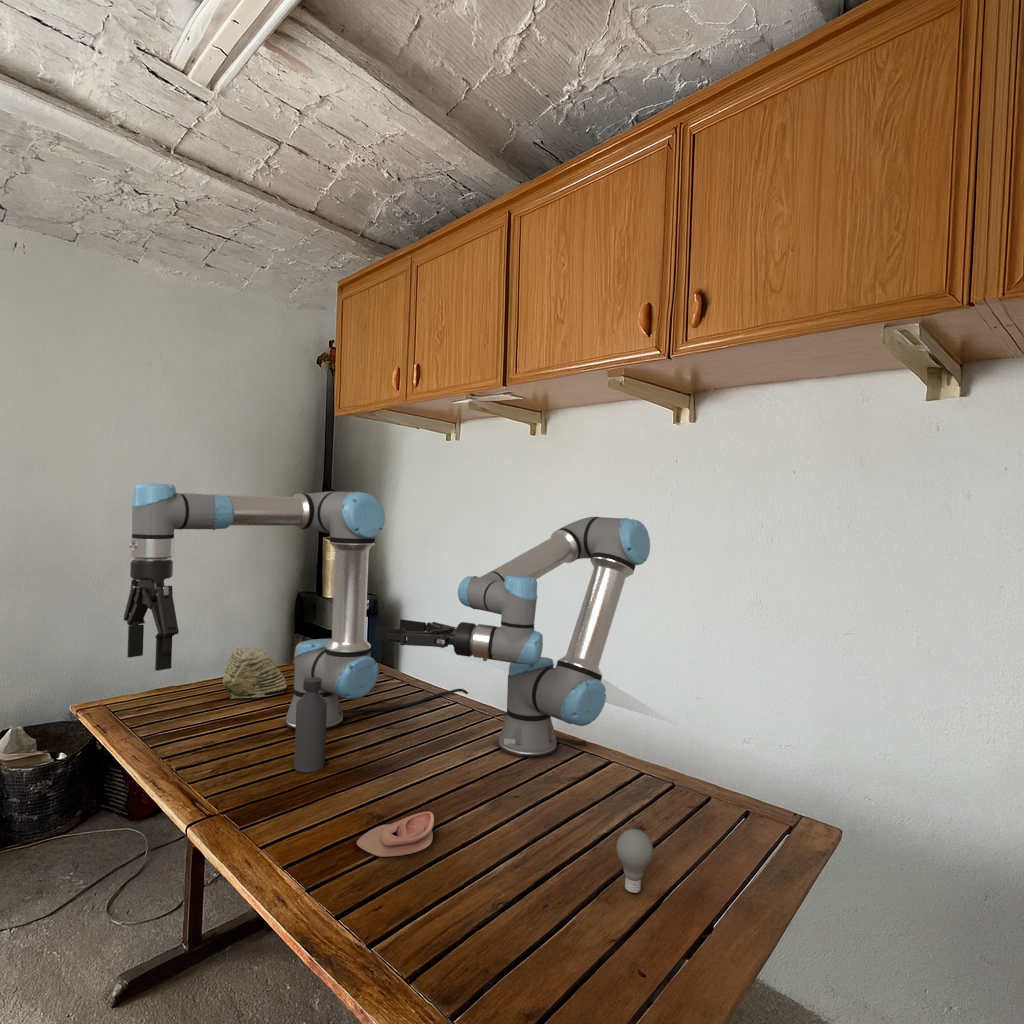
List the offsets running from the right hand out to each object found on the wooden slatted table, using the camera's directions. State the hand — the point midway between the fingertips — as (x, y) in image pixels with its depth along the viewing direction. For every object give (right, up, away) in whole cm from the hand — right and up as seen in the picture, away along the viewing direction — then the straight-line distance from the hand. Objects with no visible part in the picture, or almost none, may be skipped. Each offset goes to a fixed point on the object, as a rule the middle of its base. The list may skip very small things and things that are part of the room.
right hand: (388, 628), depth 149 cm
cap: (-18, -12, -1) cm, 21 cm away
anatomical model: (+8, -34, -32) cm, 47 cm away
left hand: (-45, -3, -20) cm, 49 cm away
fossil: (-51, -30, +49) cm, 77 cm away
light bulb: (+49, -36, -44) cm, 75 cm away
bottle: (-18, -32, -1) cm, 37 cm away
